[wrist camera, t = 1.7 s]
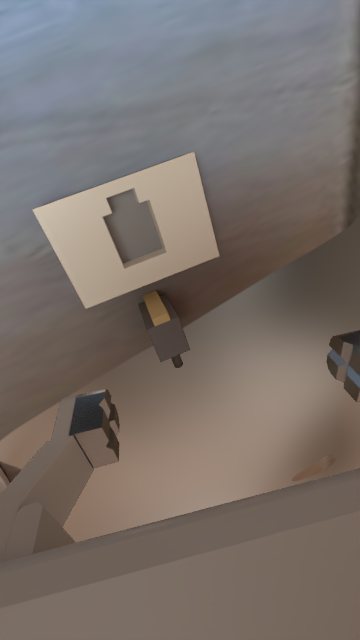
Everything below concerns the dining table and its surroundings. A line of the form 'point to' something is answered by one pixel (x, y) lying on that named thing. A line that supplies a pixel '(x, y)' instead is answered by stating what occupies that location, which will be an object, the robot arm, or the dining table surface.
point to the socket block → (131, 230)
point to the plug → (164, 327)
